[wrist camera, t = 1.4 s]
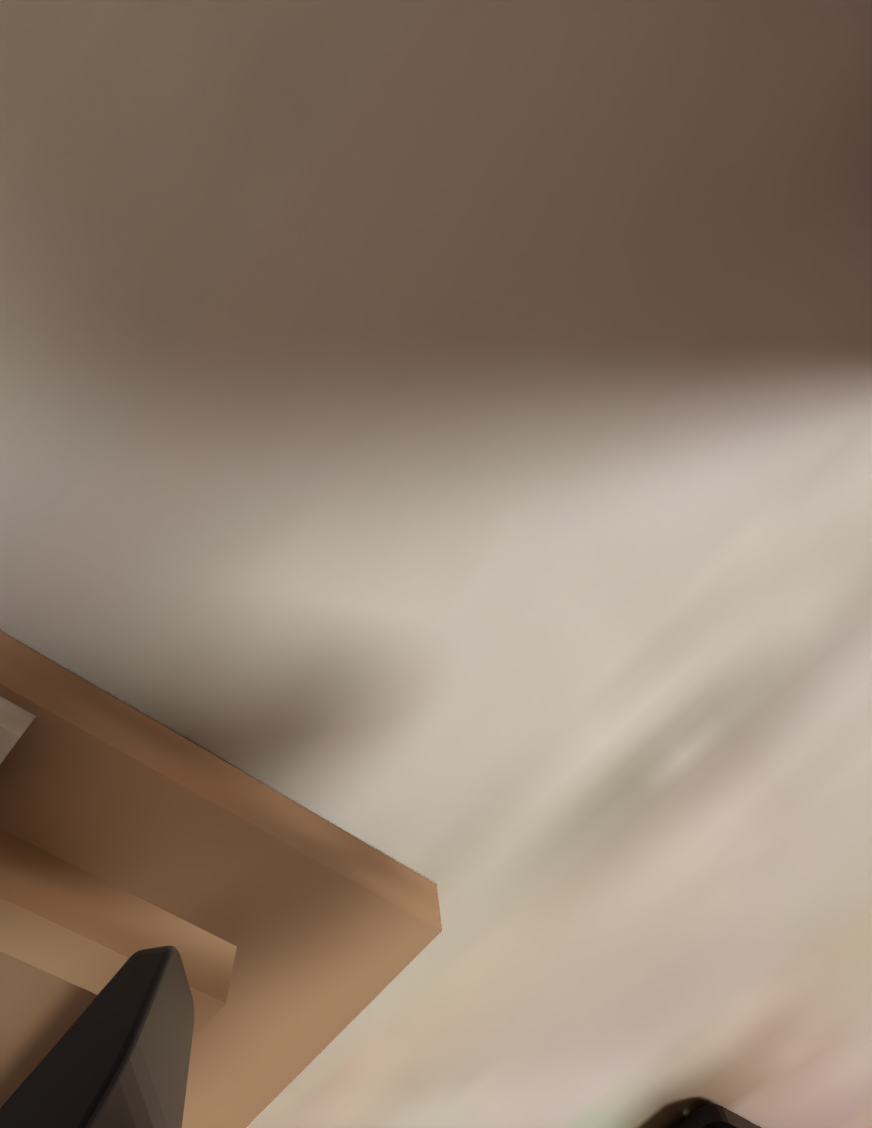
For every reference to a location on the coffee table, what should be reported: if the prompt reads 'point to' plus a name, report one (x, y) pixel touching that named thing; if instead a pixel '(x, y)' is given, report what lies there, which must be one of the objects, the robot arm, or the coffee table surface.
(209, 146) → the coffee table surface
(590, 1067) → the coffee table surface
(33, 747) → the board
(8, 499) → the coffee table surface
